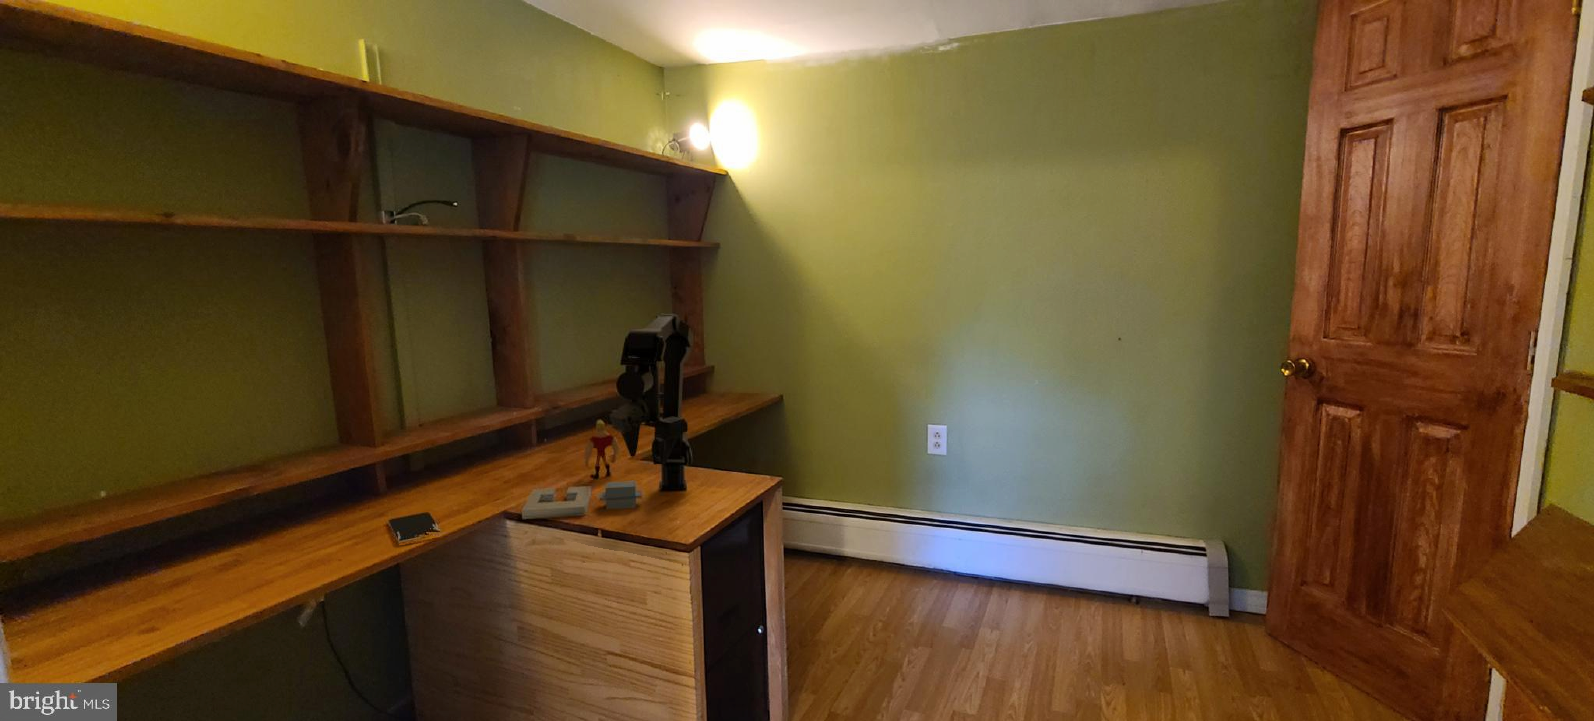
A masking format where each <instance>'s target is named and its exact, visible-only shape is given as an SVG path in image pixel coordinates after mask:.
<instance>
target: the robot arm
mask: <svg viewBox="0 0 1594 721" xmlns="http://www.w3.org/2000/svg"><path fill="white" fill-rule="evenodd" d="M693 346H694V334H693V331H692V330H691V327H690V326H689V325H688V324H686V323H685V322H683V320H681V319H680V316H679V315H677V314H675V313H674V314H673V313H672V314H671V313H659V314H657V315H656V316H655V319H654V320H652V321H651V323H649V324H648V325H647V326H646V327H645V328H637V329H631V330H630V331H628V333H627V335H626V336H625V338H624V342H623V347H622V353H621V358H620V366H625V367H624V368H625V371H624V372H622V373H621V374H620V375H619V376H618V377H617V380H616V382H615V385H616V390H617V392H618V394H619V395H620V396H621V397H622V399H623V398H624V399H625V400H626V404H624V405H621V406H620V407H618V408H617V409H614V410H610V412H609V413H608V415H607V424H608V425H611V427H612V429H614V430H616V431H617V432H619V433H620V434H621V436H622V438H623V440H624V443H625V445H626V448H627V451H628V452H629V456H630V457H631V458H633V457H635V456H636V455H637V450H638V447H639V446H638V444H639V438H640V437H639V436H640V430H641V426H646V427H651V428H654V434H653V435H654V436H653V440H652V443H651V454H652V455H651V456H652V461H653V465H660V470H661V471H660V472H661V473H660V474H661V475H660V477H661V479H660V481H659V491H660V492H665V491H684V490H688V486H687V480H686V476H685V475H686V474H685V472H686V471H685V470H686V469H685V468H686V467H687V466H689V465H691V464H693V452H692V449H691V446H690V443H689V441H688V433H687V432H688V427H689V426H688V425H689V424H688V421H687V420H686V418H682V408H683V403H682V402H683V386H684V385H683V383H684V382H683V381H684V380H683V379H684V366H685V365H684V364H685V363H686V362H687V361H688V359H689V357H690V355H691V350H692V348H693ZM661 362H663V363H664V370H663V371H664V373H663V375H664V376H663V392H661V390H660V386H661V385H660V365H661ZM661 399H662V410H661ZM661 418H662V419H661ZM685 466H686V467H685Z"/></svg>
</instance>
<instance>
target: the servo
mask: <svg viewBox="0 0 1594 721" xmlns="http://www.w3.org/2000/svg"><path fill="white" fill-rule="evenodd" d="M636 482H637V481H636V480H628V481H627V480H626V481H610V482H609V481H608V482H606V484H605V490H604V491H601V492H600V495H599V502H601V501H603V502H604V501H605V509H606V510H619V509H631V508H632V509H634V508H636V507H637V499H638V500H640V499H642V497H643V489H637V486H636V485H637V484H636Z"/></svg>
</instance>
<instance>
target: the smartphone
mask: <svg viewBox="0 0 1594 721" xmlns="http://www.w3.org/2000/svg"><path fill="white" fill-rule="evenodd" d="M388 525H389V527H390V526H391V528H392V530H393V532H394V534H395V536H396V538H397V540H398V542H405V541H409V540H412V539H419V538H420V537H419V535H429V534H427V533H426V532H440V533H441V532H442V530H441V529H438V528H440V527H439V525H438V524H437V523H436V521H435V520H434V518H433V517H432V515H431V514H430V512H421V513H416V514H410V515H405V516H400V517H395V518H391V519H388ZM391 528H390V529H391ZM430 528H431V529H430ZM433 528H435V530H434V529H433ZM392 530H391V531H392ZM393 532H392V533H393ZM440 533H438V534H440ZM394 534H393V535H394ZM431 535H436V534H431ZM395 536H394V537H395ZM396 538H395V539H396Z"/></svg>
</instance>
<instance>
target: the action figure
mask: <svg viewBox="0 0 1594 721" xmlns="http://www.w3.org/2000/svg"><path fill="white" fill-rule="evenodd" d="M595 424H596V425H595V427H596V428H595V429H596V434H594V435H592V436H591V437H590V438H588V441H586V444H585V450H584V452H583V457H584V460H585V461H584V465H585V467H586V468H590V466H589V465H588V464H589V461H590V458H591V457H592V453H593V449H596V463H595V465H594V470H595V474H593V473H592V474H590V477H591V478H593V479H594V478H596V479H599V478H600V469H601V466H600V461H601V459H602V462H603V464H604V467H605V468H606V476H608V477H609V476H611V472H610V471H611V470H610V467H611V466H610V463H611V464H614V463H616V461H617V456H618V454H619V452H620V446H619V442H618V439H617V437H615V436H614V435H613V434H611V433H608V432H607V431H606V430H605V429H606V425H605V422H604V421H603V420H602V419H598V420H597V421H596V423H595ZM608 447H611V448H612V450H613V454H610V455H608V458H610V459H609V461H610V463H609V461H608V460H607V458H606V457H607V455H606V449H607V448H608Z"/></svg>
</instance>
